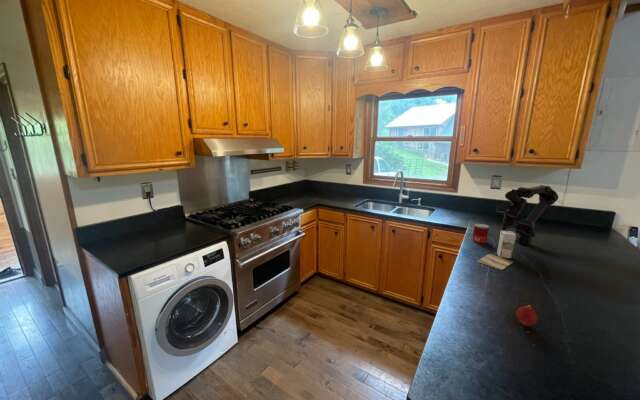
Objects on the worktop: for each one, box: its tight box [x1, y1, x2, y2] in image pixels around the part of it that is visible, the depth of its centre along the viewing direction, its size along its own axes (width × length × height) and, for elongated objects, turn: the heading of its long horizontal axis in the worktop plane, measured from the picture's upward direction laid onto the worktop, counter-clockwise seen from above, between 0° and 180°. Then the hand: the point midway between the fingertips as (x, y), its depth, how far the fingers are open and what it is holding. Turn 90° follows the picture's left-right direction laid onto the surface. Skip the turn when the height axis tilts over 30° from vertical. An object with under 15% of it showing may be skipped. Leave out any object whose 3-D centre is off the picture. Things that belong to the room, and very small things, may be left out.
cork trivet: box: [476, 253, 514, 271], centre depth 140 cm, size 16×12×1 cm
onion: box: [515, 304, 538, 327], centre depth 91 cm, size 6×6×8 cm
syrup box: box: [496, 230, 517, 260], centre depth 146 cm, size 6×6×14 cm
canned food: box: [472, 223, 490, 244], centre depth 168 cm, size 8×8×11 cm
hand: (503, 229), depth 157 cm, fingers open, 9 cm apart
